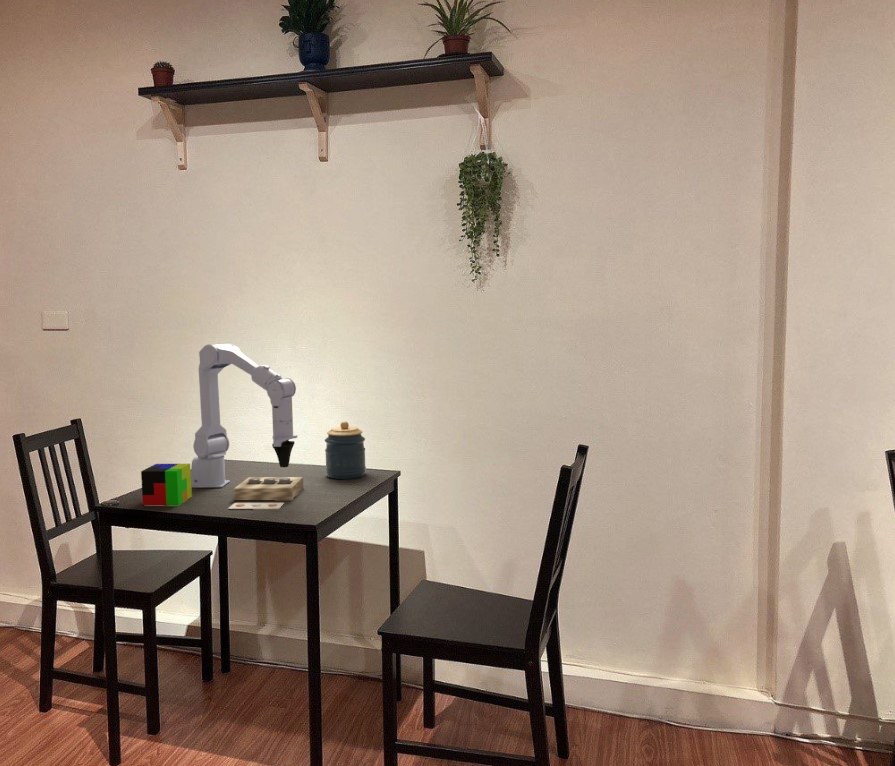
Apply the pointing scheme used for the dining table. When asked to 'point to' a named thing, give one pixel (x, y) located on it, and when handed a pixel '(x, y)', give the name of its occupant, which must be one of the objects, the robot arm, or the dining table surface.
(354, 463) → the canister
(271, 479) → the middle button
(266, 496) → the button board
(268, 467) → the dining table surface
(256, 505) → the card
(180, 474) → the puzzle toy
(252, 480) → the left button
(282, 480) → the right button
